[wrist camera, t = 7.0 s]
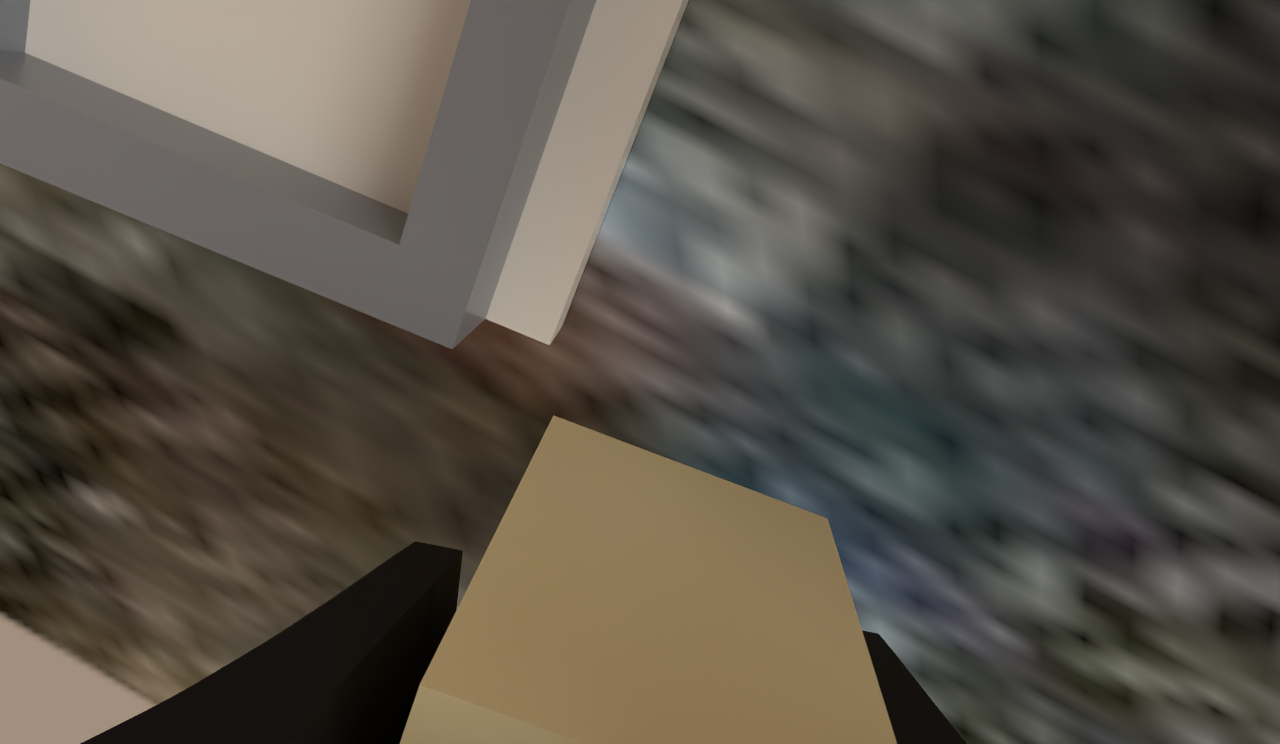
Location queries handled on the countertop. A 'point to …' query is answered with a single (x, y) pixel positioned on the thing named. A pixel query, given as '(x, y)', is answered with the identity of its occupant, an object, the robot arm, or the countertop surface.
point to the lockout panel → (348, 137)
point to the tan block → (650, 615)
